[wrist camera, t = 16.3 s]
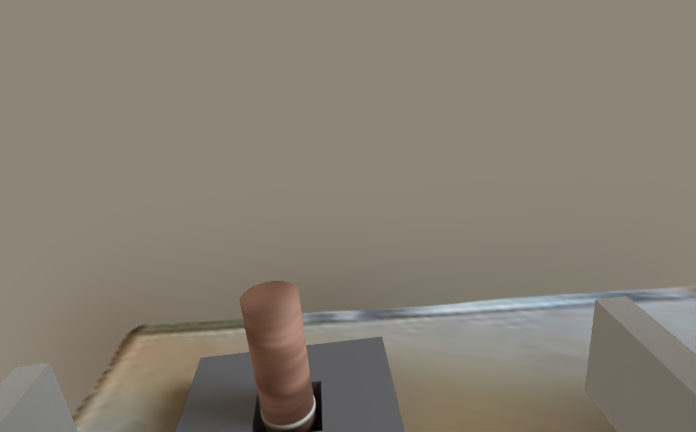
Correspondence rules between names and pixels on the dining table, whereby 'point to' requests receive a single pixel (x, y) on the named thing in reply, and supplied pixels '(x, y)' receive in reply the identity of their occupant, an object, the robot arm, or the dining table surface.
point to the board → (327, 384)
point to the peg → (279, 357)
